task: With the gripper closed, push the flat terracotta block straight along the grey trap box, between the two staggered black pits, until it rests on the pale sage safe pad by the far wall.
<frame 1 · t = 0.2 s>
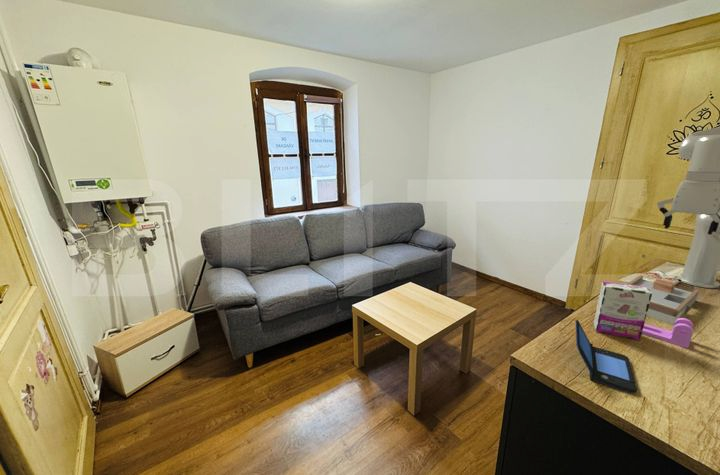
hand: (687, 230, 95), 31 cm above the table, tool pointing down, fingers open, 9 cm apart
bracket: (657, 335, 93), on the table
trap box: (653, 302, 111), on the table
candy bar box: (614, 332, 95), on the table
block: (662, 289, 115), point 3 cm above the table, touching trap box
handheld game console: (599, 367, 81), on the table
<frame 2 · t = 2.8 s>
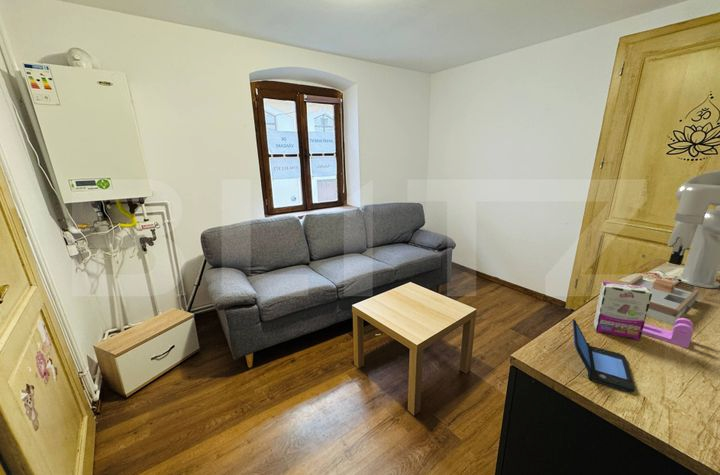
hand: (674, 263, 116), 12 cm above the table, tool pointing down, fingers closed
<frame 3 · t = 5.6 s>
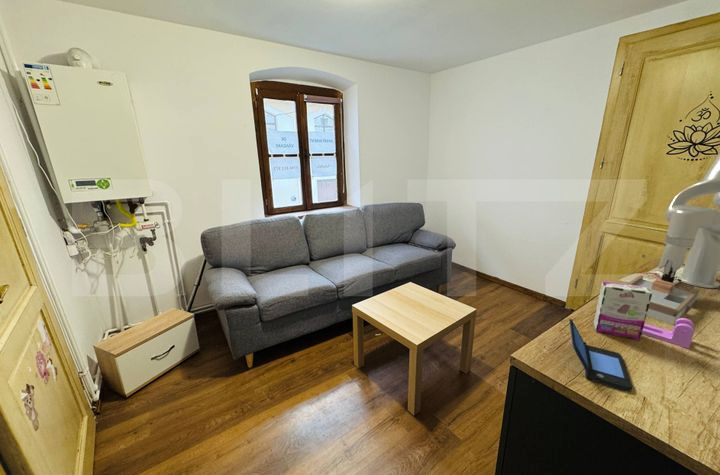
hand: (665, 284, 116), 4 cm above the table, tool pointing down, fingers closed
block: (661, 289, 114), point 3 cm above the table, touching gripper, trap box
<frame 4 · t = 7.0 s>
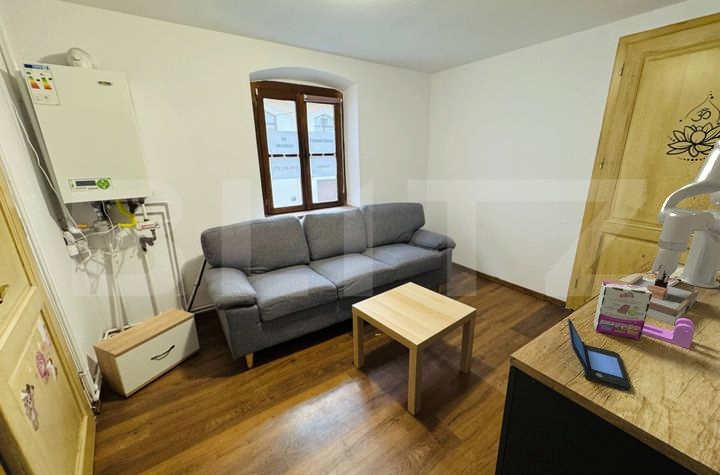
hand: (659, 290, 112), 4 cm above the table, tool pointing down, fingers closed
block: (654, 295, 110), point 3 cm above the table, touching gripper, trap box
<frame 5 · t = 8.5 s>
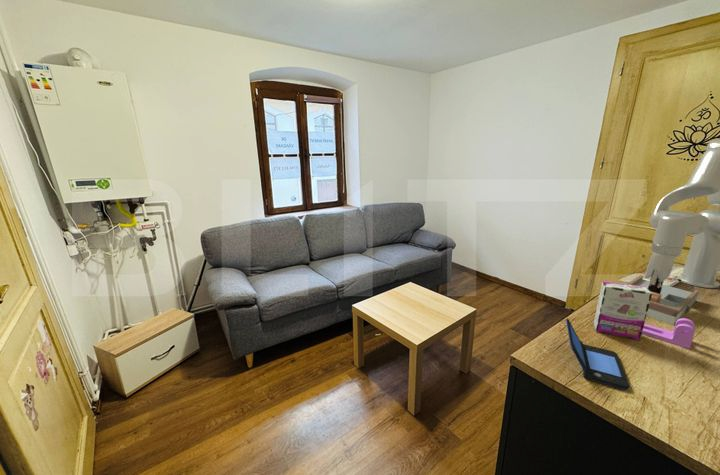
hand: (652, 295, 109), 4 cm above the table, tool pointing down, fingers closed
block: (647, 301, 107), point 3 cm above the table, touching gripper, trap box
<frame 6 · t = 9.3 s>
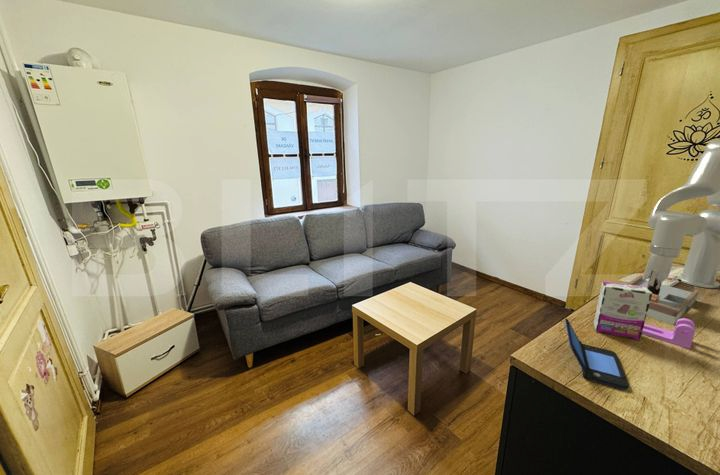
hand: (651, 297, 108), 4 cm above the table, tool pointing down, fingers closed
block: (646, 302, 106), point 3 cm above the table, touching gripper, trap box
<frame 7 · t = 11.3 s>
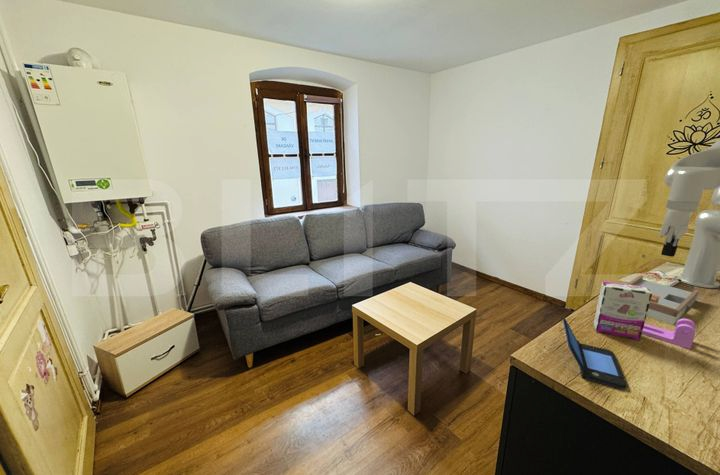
hand: (667, 255, 106), 19 cm above the table, tool pointing down, fingers closed
block: (646, 302, 106), point 3 cm above the table, touching trap box
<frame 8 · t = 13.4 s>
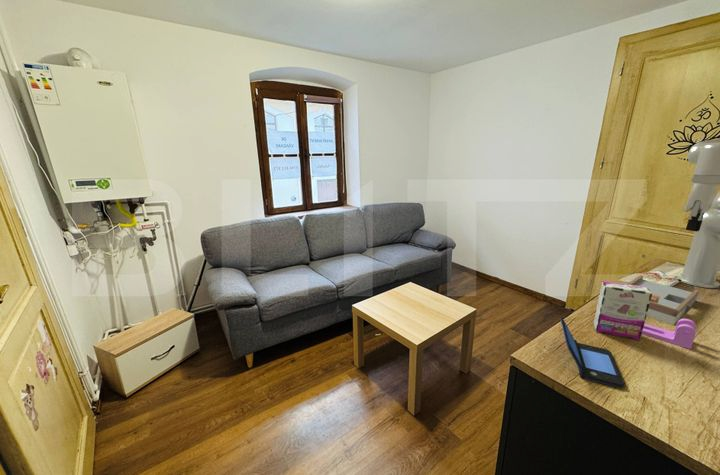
hand: (692, 230, 107), 27 cm above the table, tool pointing down, fingers closed
at the end: block 0.0 cm from the target spot on the trap box, point 3.0 cm above the trap box's base; block tilted 0° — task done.
